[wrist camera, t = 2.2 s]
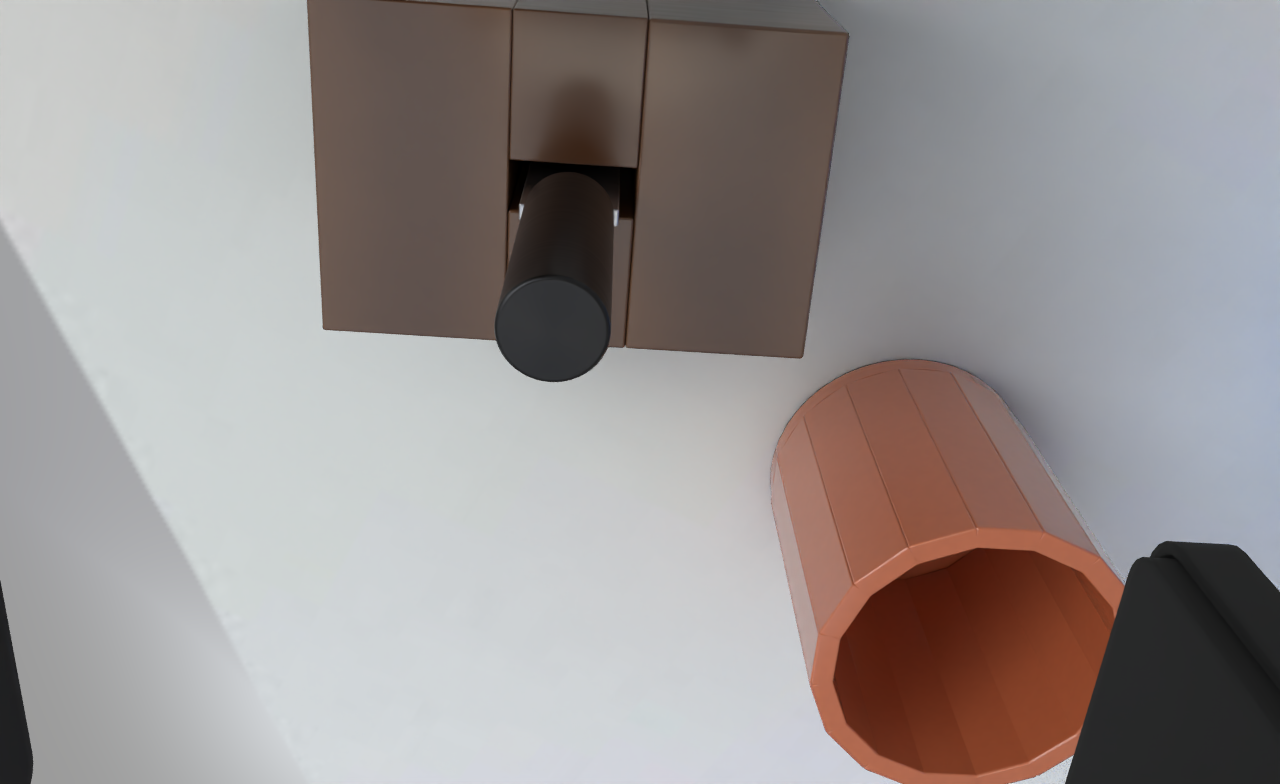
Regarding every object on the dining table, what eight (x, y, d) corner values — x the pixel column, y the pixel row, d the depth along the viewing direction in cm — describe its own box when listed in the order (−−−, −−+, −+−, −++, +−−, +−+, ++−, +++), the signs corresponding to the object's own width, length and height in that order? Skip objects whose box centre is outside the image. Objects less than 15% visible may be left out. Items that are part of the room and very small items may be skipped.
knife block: (807, -9, 33) (850, 33, 26) (772, 265, 36) (803, 359, 30) (368, -42, 32) (305, -7, 26) (375, 239, 36) (322, 330, 29)
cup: (1048, 366, 38) (1181, 539, 29) (995, 584, 41) (1098, 798, 32) (786, 350, 37) (837, 520, 28) (756, 572, 41) (793, 784, 32)
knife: (622, 88, 34) (620, 280, 20) (618, 157, 35) (613, 387, 21) (545, 83, 34) (488, 271, 20) (542, 152, 35) (486, 380, 21)
